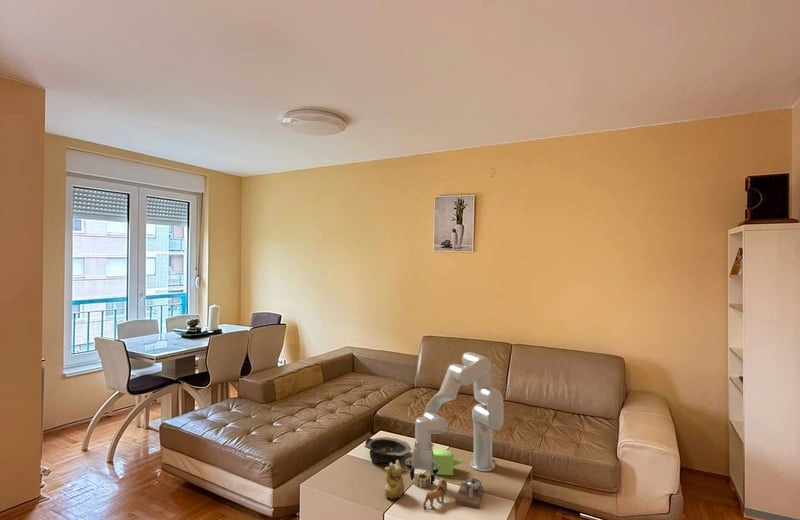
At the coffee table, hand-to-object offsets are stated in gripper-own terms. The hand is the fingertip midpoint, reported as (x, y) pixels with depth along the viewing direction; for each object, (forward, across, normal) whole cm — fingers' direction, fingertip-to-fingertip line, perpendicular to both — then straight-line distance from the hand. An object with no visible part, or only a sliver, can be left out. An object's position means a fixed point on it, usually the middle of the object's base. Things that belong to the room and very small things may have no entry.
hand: (422, 480), depth 200 cm
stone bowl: (+2, +24, -19) cm, 31 cm away
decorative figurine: (+2, +9, +14) cm, 17 cm away
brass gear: (+2, 0, 0) cm, 2 cm away
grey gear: (-1, -24, 0) cm, 24 cm away
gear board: (+1, -23, +4) cm, 23 cm away
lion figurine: (+2, -10, +14) cm, 17 cm away
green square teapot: (+2, -7, -16) cm, 18 cm away
